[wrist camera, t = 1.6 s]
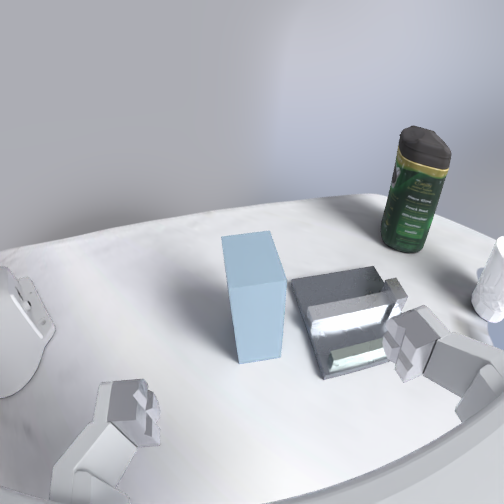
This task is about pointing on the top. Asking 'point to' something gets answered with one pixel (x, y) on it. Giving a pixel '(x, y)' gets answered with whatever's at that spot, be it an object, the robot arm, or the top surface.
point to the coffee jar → (414, 188)
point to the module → (255, 294)
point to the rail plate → (346, 330)
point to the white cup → (491, 286)
